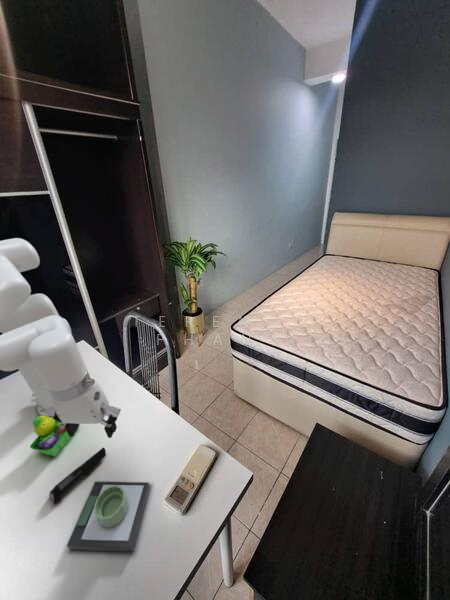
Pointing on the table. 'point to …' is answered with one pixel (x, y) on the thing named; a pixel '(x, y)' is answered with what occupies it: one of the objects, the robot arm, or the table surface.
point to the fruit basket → (49, 436)
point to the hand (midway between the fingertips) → (93, 431)
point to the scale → (116, 537)
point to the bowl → (111, 506)
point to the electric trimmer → (76, 475)
